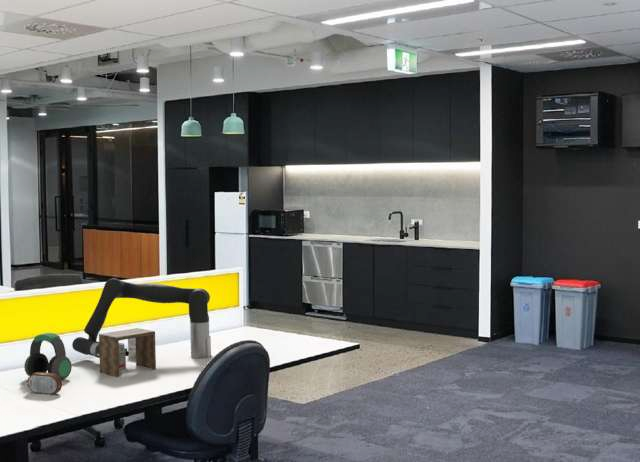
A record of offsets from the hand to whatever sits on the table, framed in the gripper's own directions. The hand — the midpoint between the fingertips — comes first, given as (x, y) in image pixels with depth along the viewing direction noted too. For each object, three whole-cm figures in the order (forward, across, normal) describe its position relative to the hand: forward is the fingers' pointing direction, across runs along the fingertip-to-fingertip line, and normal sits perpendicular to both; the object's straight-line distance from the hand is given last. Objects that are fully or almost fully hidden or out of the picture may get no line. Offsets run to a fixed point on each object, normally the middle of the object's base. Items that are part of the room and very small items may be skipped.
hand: (121, 355), depth 367 cm
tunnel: (+5, 0, +7) cm, 8 cm away
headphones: (-9, -32, +7) cm, 34 cm away
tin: (+14, -46, +7) cm, 48 cm away
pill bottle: (-2, 0, +7) cm, 7 cm away
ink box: (-20, +22, +7) cm, 31 cm away
